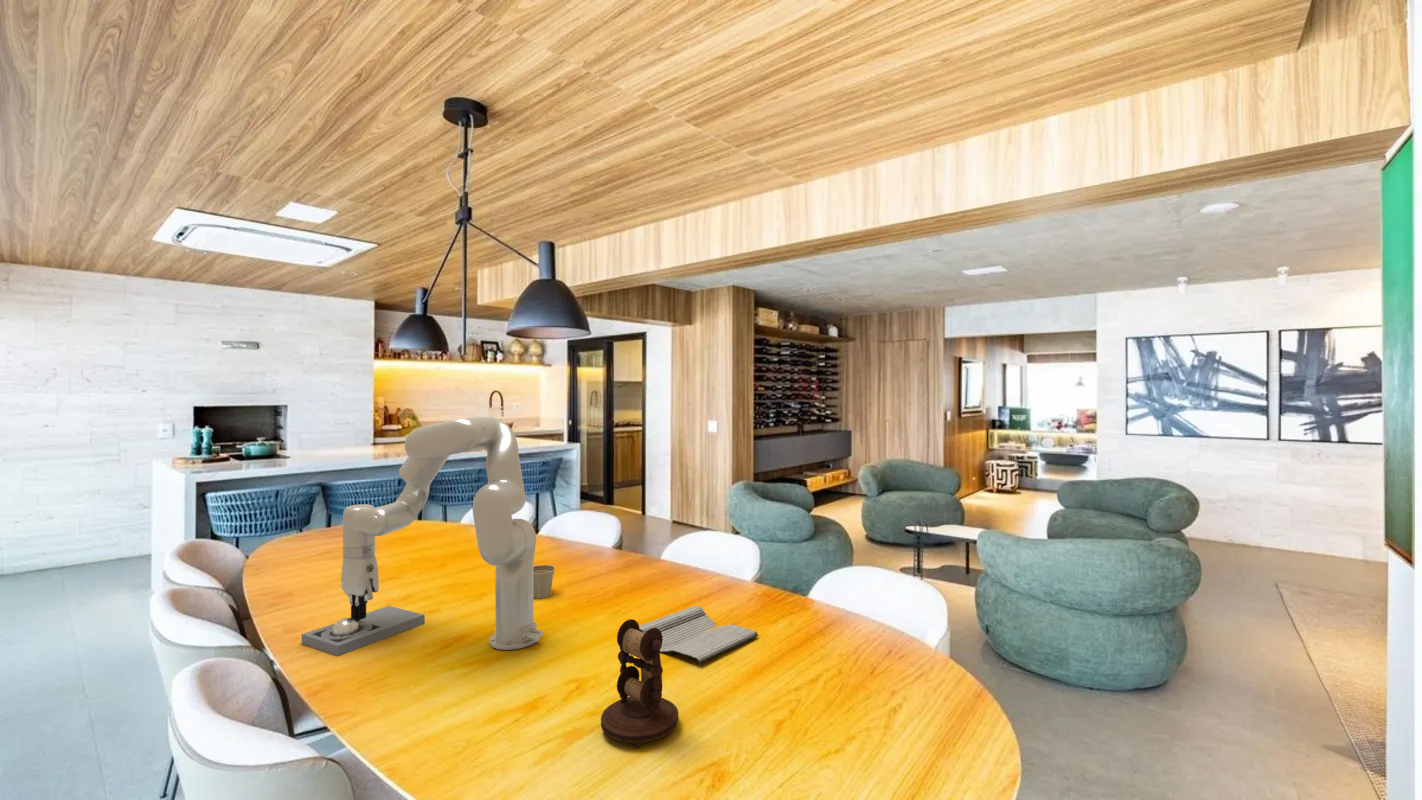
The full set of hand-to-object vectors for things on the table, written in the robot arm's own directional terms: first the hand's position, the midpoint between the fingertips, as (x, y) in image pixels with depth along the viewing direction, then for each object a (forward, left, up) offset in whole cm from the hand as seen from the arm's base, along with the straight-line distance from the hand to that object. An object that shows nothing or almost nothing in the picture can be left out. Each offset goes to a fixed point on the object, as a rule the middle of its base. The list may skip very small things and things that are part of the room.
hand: (358, 619), depth 161 cm
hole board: (-1, -2, -4) cm, 5 cm away
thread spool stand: (-94, +2, -5) cm, 94 cm away
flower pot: (-21, -47, -5) cm, 51 cm away
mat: (-83, -39, -5) cm, 91 cm away
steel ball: (-1, +4, -1) cm, 4 cm away
